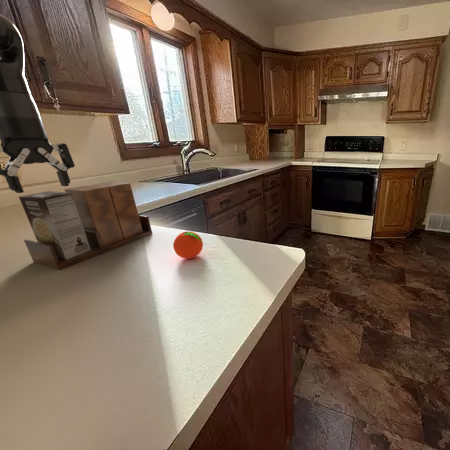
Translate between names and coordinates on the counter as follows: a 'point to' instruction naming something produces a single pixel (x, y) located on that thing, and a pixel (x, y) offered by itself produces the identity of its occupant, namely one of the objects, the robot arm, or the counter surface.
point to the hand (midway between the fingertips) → (43, 189)
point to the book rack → (99, 223)
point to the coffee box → (56, 222)
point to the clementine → (188, 245)
